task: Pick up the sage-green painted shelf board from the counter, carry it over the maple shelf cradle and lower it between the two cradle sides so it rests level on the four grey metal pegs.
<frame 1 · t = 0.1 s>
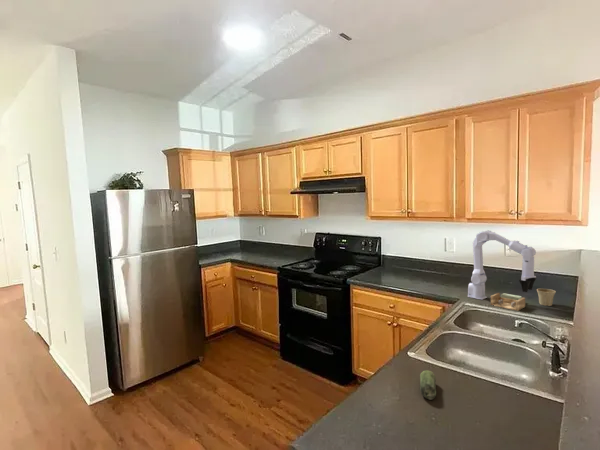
hand: (527, 290, 200), 10 cm above the worktop, tool pointing down, fingers open, 7 cm apart
flower pot: (545, 304, 205), on the worktop
vegetable: (427, 392, 117), on the worktop
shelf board: (510, 301, 212), on the worktop
peg cradle: (506, 306, 203), on the worktop
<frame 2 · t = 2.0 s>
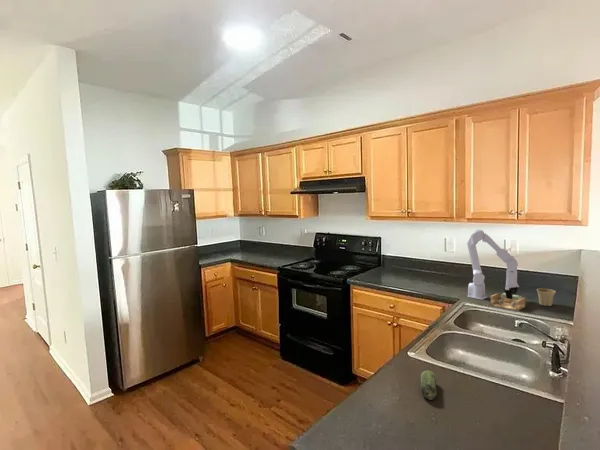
hand: (511, 299, 212), 1 cm above the worktop, tool pointing down, fingers closed on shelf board, 5 cm apart
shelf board: (511, 301, 212), on the worktop, touching gripper
everything else where it was.
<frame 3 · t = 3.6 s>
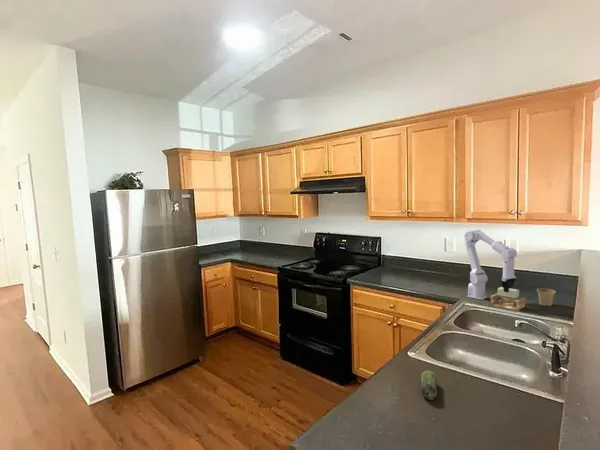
hand: (507, 291, 203), 9 cm above the worktop, tool pointing down, fingers closed on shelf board, 5 cm apart
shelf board: (508, 295, 204), point 6 cm above the worktop, touching gripper
everything else where it was.
when the fingers open (5 cm above the worktop, at t = 4.9 s): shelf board stays where it is, resting on peg cradle.
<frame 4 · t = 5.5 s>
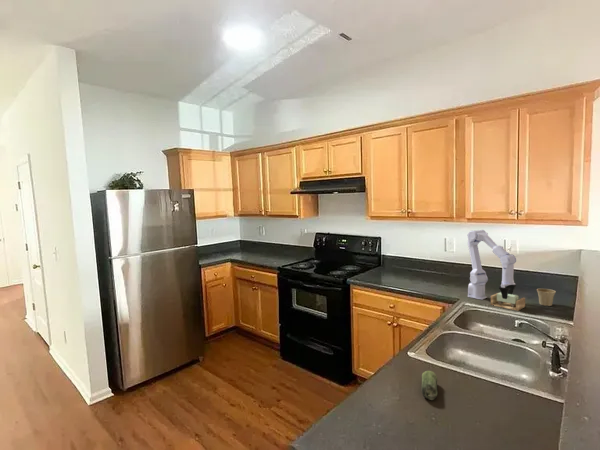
hand: (507, 297, 203), 5 cm above the worktop, tool pointing down, fingers open, 7 cm apart
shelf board: (507, 301, 203), point 3 cm above the worktop, touching peg cradle
everything else where it was.
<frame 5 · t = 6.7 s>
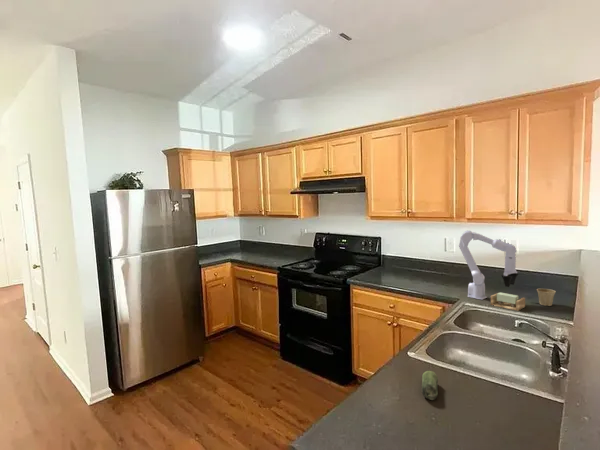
hand: (509, 285, 212), 10 cm above the worktop, tool pointing down, fingers open, 7 cm apart
nothing on the worktop moved.
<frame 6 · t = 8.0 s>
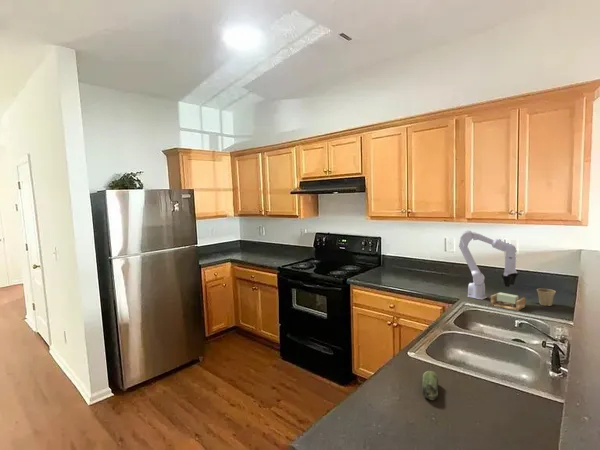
hand: (509, 285, 212), 10 cm above the worktop, tool pointing down, fingers open, 7 cm apart
nothing on the worktop moved.
at the end: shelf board 0.2 cm off-centre on the peg cradle, point 3.0 cm above the peg cradle's base; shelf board tilted 0°; the gripper is holding nothing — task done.
